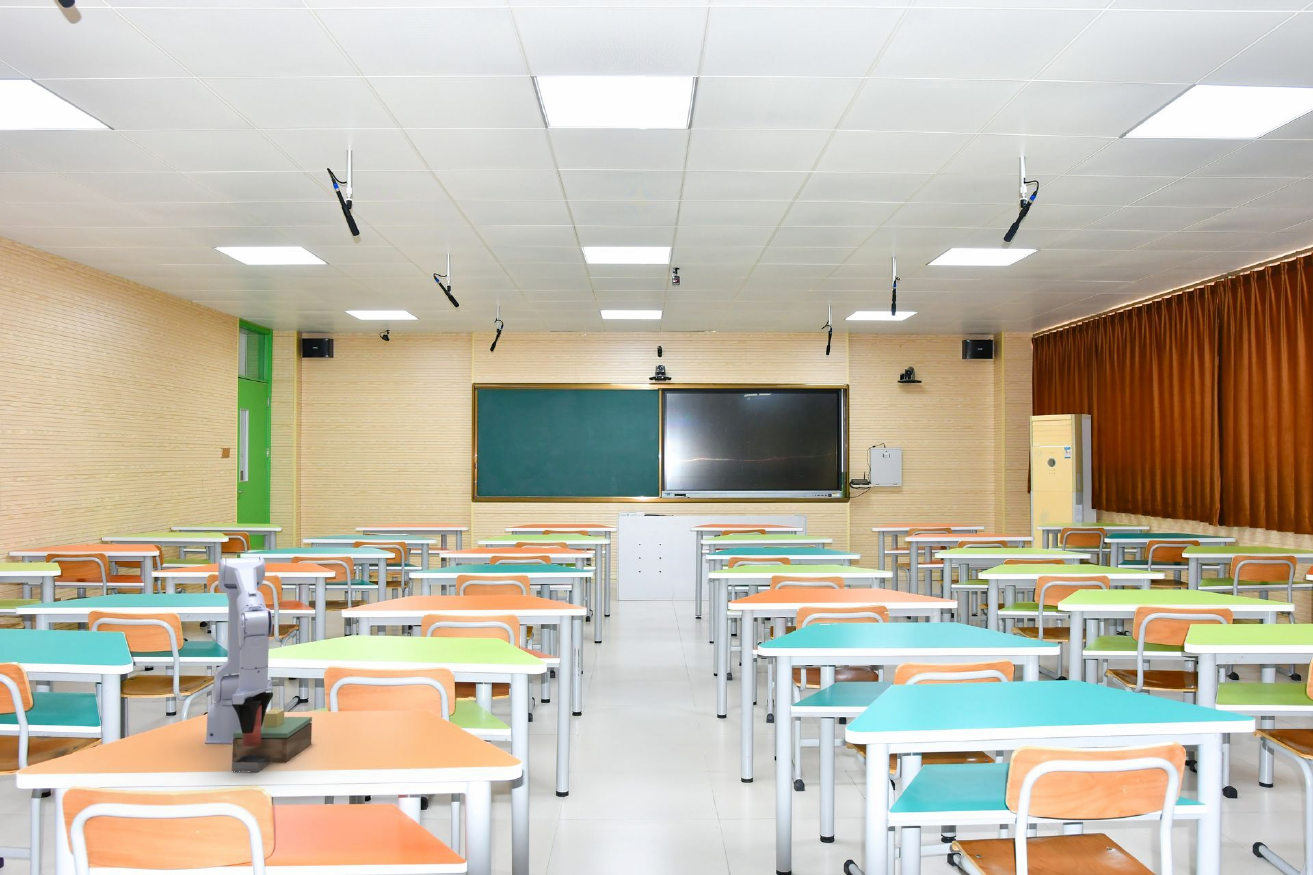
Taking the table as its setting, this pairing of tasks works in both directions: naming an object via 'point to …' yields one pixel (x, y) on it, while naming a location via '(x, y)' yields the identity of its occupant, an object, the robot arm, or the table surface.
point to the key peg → (254, 731)
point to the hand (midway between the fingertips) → (251, 730)
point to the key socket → (251, 763)
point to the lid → (278, 725)
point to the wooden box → (276, 746)
